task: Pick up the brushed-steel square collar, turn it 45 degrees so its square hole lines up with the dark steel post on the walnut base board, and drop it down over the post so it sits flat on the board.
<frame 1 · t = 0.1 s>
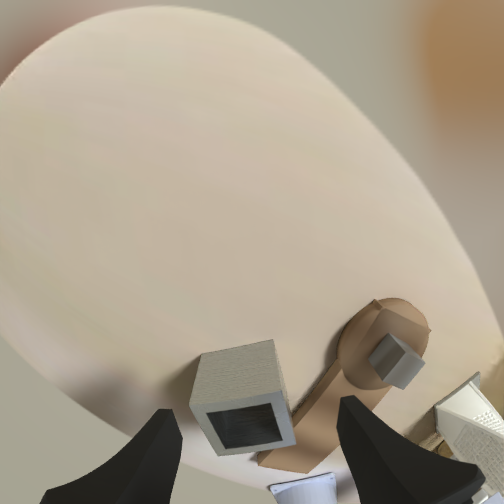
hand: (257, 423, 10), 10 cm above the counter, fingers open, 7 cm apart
skyscraper: (452, 404, 24), on the counter
steel collar: (246, 375, 21), on the counter
walnut base: (336, 402, 22), on the counter
sprinkles bottle: (448, 440, 26), on the counter
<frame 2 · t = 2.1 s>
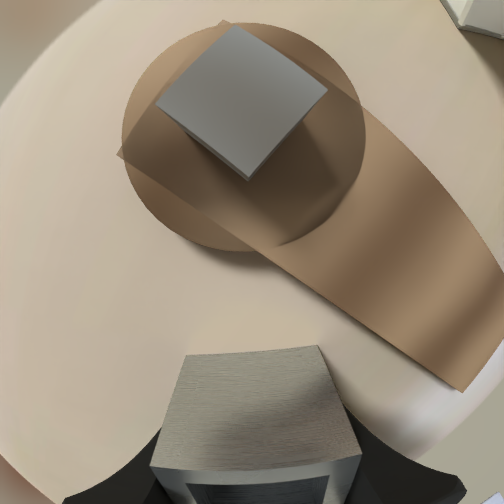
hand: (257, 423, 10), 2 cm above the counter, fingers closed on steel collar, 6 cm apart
skyscraper: (461, 0, 7), on the counter
steel collar: (256, 400, 12), on the counter, touching gripper
walnut base: (386, 244, 10), on the counter
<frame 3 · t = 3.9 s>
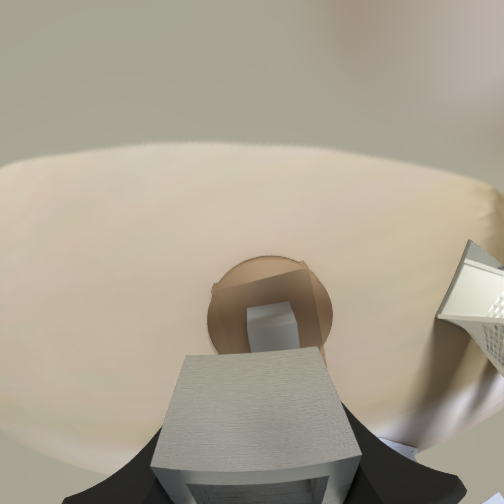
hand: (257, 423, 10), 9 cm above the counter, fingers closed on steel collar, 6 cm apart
skyscraper: (466, 295, 19), on the counter
steel collar: (255, 400, 12), point 7 cm above the counter, touching gripper
walnut base: (289, 388, 20), on the counter
when the fingers open (4 cm above the counter, at t = 5.9 s): steel collar drops 1 cm, resting on walnut base.
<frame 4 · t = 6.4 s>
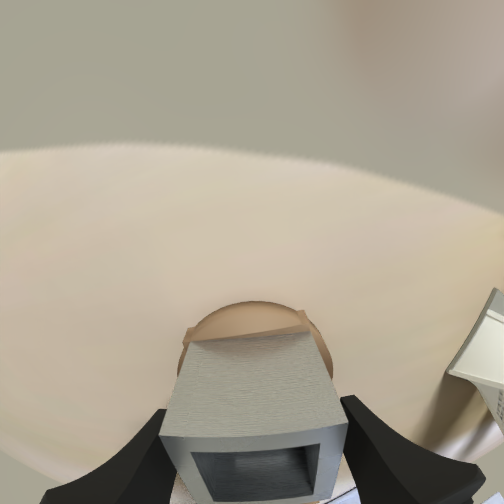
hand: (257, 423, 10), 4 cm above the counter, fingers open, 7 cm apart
skyscraper: (480, 346, 15), on the counter
steel collar: (255, 383, 13), point 1 cm above the counter, touching walnut base
walnut base: (271, 441, 16), on the counter, touching steel collar
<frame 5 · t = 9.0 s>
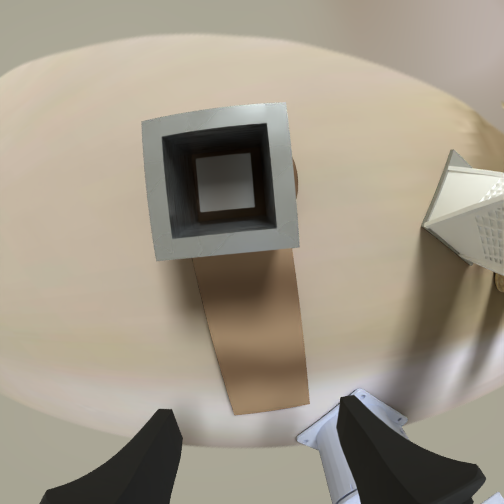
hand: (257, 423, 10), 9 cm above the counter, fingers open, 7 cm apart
skyscraper: (455, 213, 18), on the counter
steel collar: (228, 183, 16), point 1 cm above the counter, touching walnut base
walnut base: (249, 289, 19), on the counter, touching steel collar
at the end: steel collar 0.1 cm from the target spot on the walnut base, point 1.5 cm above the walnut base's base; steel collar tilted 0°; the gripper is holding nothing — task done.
